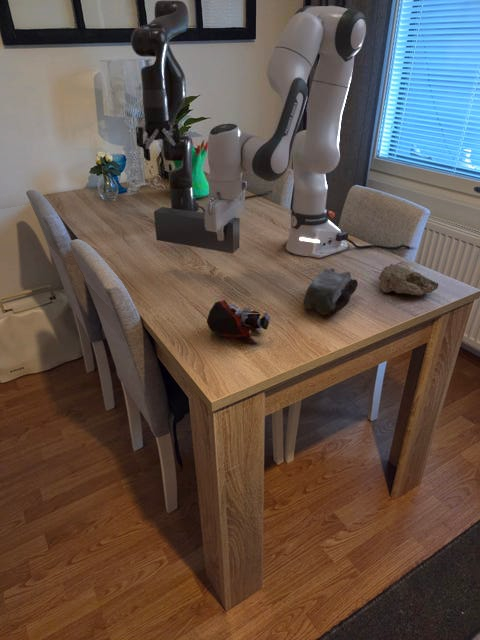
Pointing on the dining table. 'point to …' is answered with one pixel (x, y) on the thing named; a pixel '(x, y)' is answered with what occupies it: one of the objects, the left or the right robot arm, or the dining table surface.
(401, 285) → the artifact
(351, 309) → the dining table surface
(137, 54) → the left robot arm
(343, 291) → the dark grey rock
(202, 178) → the toy
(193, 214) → the bar
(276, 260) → the dining table surface
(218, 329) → the toy
